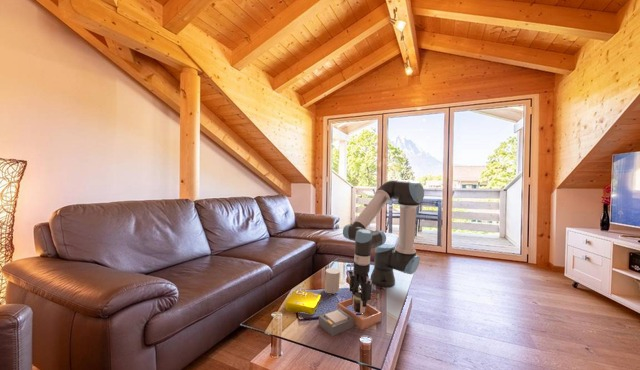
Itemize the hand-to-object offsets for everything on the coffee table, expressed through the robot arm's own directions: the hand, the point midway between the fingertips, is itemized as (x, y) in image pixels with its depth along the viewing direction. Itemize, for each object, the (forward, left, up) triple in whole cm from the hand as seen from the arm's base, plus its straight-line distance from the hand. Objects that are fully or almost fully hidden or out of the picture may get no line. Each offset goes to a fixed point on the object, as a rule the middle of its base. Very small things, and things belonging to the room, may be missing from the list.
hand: (358, 309), depth 134 cm
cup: (-5, -27, -4) cm, 28 cm away
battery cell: (0, 0, 0) cm, 0 cm away
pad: (+14, 0, -2) cm, 14 cm away
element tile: (+17, -22, -4) cm, 28 cm away
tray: (0, 0, -3) cm, 3 cm away
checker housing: (+14, 0, -3) cm, 14 cm away
